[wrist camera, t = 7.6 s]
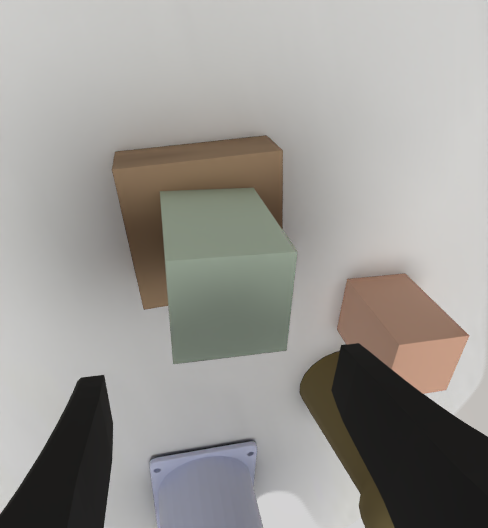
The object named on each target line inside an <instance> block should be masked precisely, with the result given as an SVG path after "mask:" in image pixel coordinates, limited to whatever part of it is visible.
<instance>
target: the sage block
mask: <svg viewBox="0 0 488 528" xmlns="http://www.w3.org/2000/svg"><path fill="white" fill-rule="evenodd" d="M160 201H161V215H162V229H163V242H164V256H165V270H166V282H167V294H168V307H169V319H170V331H171V343H172V355H173V364H179V363H188V362H196V361H204V360H212V359H221V358H229V357H237V356H246V355H254V354H262V353H270V352H279V351H286V350H287V341H288V332H289V323H290V314H291V305H292V296H293V287H294V278H295V269H296V260H297V250H296V249H295V247H294V246H293V245H292V243H291V242H290V240H289V239H288V237H287V236H286V234H285V233H284V231H283V230H282V229H281V227H280V226H279V224H278V223H277V221H276V220H275V218H274V217H273V215H272V214H271V212H270V211H269V210H268V208H267V207H266V205H265V204H264V202H263V201H262V199H261V198H260V196H259V195H258V193H257V192H256V191H255V189H254V188H232V189H206V190H180V191H160Z"/></svg>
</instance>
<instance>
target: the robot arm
mask: <svg viewBox="0 0 488 528" xmlns="http://www.w3.org/2000/svg"><path fill="white" fill-rule="evenodd" d="M331 391H332V394H333V397H334V400H335V402H336V405H337V408H338V411H339V413H340V416H341V418H342V421H343V423H344V425H345V427H346V429H347V431H348V433H349V435H350V437H351V439H352V441H353V442H354V444H355V446H356V448H357V450H358V452H359V454H360V456H361V458H362V460H363V462H364V463H365V465H366V467H367V469H368V471H369V473H370V475H371V477H372V479H373V481H374V483H375V484H376V486H377V488H378V490H379V493H380V495H381V497H382V499H383V501H384V503H385V506H386V508H387V510H388V513H389V515H390V518H391V520H392V523H393V525H394V527H395V528H488V437H487V436H485V435H484V434H482V433H481V432H479V431H477V430H476V429H474V428H472V427H471V426H469V425H468V424H466V423H464V422H463V421H461V420H460V419H458V418H457V417H455V416H454V415H452V414H451V413H449V412H448V411H446V410H445V409H444V408H442V407H441V406H439V405H438V404H436V403H435V402H434V401H432V400H431V399H429V398H428V397H427V396H425V395H424V394H423V393H421V392H420V391H419V390H417V389H416V388H415V387H413V386H412V385H411V384H410V383H408V382H407V381H406V380H404V379H403V378H402V377H401V376H399V375H398V374H397V373H396V372H394V371H393V370H392V369H391V368H389V367H388V366H387V365H386V364H384V363H383V362H382V361H381V360H380V359H378V358H377V357H376V356H375V355H373V354H372V353H371V352H370V351H368V350H367V349H366V348H365V347H363V346H362V345H361V344H359V343H355V344H347V345H341V348H340V353H339V357H338V362H337V367H336V371H335V376H334V380H333V385H332V389H331ZM112 447H113V421H112V415H111V410H110V404H109V399H108V394H107V388H106V383H105V377H104V375H99V376H91V377H83V378H80V379H79V380H78V381H77V384H76V386H75V389H74V391H73V393H72V395H71V397H70V399H69V402H68V404H67V406H66V408H65V410H64V412H63V414H62V416H61V417H60V419H59V421H58V423H57V425H56V427H55V429H54V430H53V432H52V434H51V436H50V438H49V439H48V441H47V443H46V445H45V446H44V448H43V450H42V452H41V453H40V455H39V457H38V458H37V460H36V461H35V463H34V464H33V466H32V468H31V469H30V471H29V472H28V474H27V476H26V477H25V479H24V480H23V482H22V484H21V485H20V487H19V488H18V490H17V491H16V492H15V494H14V495H13V497H12V498H11V500H10V501H9V503H8V504H7V506H6V507H5V508H4V510H3V511H2V512H1V514H0V528H104V520H105V512H106V505H107V497H108V489H109V481H110V473H111V465H112ZM256 455H257V446H256V443H255V442H253V441H250V442H244V443H238V444H232V445H227V446H221V447H215V448H209V449H204V450H198V451H192V452H186V453H180V454H175V455H169V456H163V457H157V458H154V459H152V460H151V461H150V474H151V481H152V489H153V496H154V504H155V511H156V519H157V527H158V528H263V525H262V521H261V517H260V513H259V509H258V505H257V500H256V496H255V492H254V488H253V487H254V476H255V466H256Z"/></svg>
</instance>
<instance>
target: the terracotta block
mask: <svg viewBox="0 0 488 528" xmlns="http://www.w3.org/2000/svg"><path fill="white" fill-rule="evenodd" d="M337 330H338V332H339V333H340V335H341V337H342V338H343V340H344V341H345V343H346V345H347V344H355V343H359V344H361V345H362V346H363V347H365V348H366V349H367V350H368V351H370V352H371V353H372V354H373V355H375V356H376V357H377V358H378V359H380V360H381V361H382V362H383V363H384V364H386V365H387V366H388V367H389V368H391V369H392V370H393V371H394V372H396V373H397V374H398V375H399V376H401V377H402V378H403V379H404V380H406V381H407V382H408V383H410V384H411V385H412V386H413V387H415V388H416V389H417V390H419V391H420V392H421V393H423V394H424V393H431V392H437V391H443V390H446V389H447V387H448V384H449V382H450V380H451V377H452V375H453V373H454V370H455V368H456V366H457V363H458V361H459V359H460V356H461V354H462V352H463V349H464V347H465V345H466V342H467V340H468V338H469V335H468V334H467V333H466V332H465V331H464V330H463V329H462V328H461V327H460V326H459V325H458V324H457V323H456V322H455V321H454V320H453V319H452V318H451V317H450V316H449V315H448V314H446V313H445V312H444V311H443V310H442V309H441V308H440V307H439V306H438V305H437V304H436V303H435V302H434V301H433V300H432V299H431V298H430V297H429V296H428V295H427V294H426V293H425V292H424V291H423V290H422V289H421V288H420V287H419V286H418V285H417V284H416V283H414V282H413V281H412V280H411V279H410V278H409V277H408V276H407V275H406V274H396V275H385V276H374V277H364V278H353V279H347V282H346V287H345V292H344V297H343V302H342V307H341V312H340V317H339V322H338V326H337Z"/></svg>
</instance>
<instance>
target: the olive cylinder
mask: <svg viewBox="0 0 488 528" xmlns="http://www.w3.org/2000/svg"><path fill="white" fill-rule="evenodd" d="M339 353H340V351H339V352H335V353H333V354H330V355H328V356H326V357H324V358H322V359H321V360H319V361H318V362H317V363H315V364H314V365H312V367H311V368H310V369H309V370H308V371H307V372H306V374H305V375H304V377H303V379H302V381H301V384H300V395H301V397H302V399H303V401H304V403H305V404H306V406H307V408H308V409H309V411H310V412H311V414H312V416H313V417H314V419H315V421H316V422H317V424H318V425H319V427H320V429H321V430H322V432H323V434H324V435H325V437H326V438H327V440H328V442H329V443H330V445H331V447H332V448H333V450H334V452H335V453H336V455H337V456H338V458H339V460H340V461H341V463H342V465H343V466H344V468H345V469H346V471H347V473H348V474H349V476H350V478H351V479H352V481H353V482H354V484H355V486H356V487H357V489H358V491H359V492H360V494H361V495H360V502H359V509H360V514H361V518H362V520H363V523H364V525H365V528H395V527H394V525H393V523H392V520H391V518H390V515H389V513H388V510H387V508H386V506H385V503H384V501H383V499H382V497H381V495H380V493H379V490H378V488H377V486H376V484H375V483H374V481H373V479H372V477H371V475H370V473H369V471H368V469H367V467H366V465H365V463H364V462H363V460H362V458H361V456H360V454H359V452H358V450H357V448H356V446H355V444H354V442H353V441H352V439H351V437H350V435H349V433H348V431H347V429H346V427H345V425H344V423H343V421H342V418H341V416H340V413H339V411H338V408H337V405H336V402H335V400H334V397H333V394H332V391H331V389H332V385H333V380H334V376H335V371H336V367H337V362H338V357H339Z"/></svg>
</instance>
